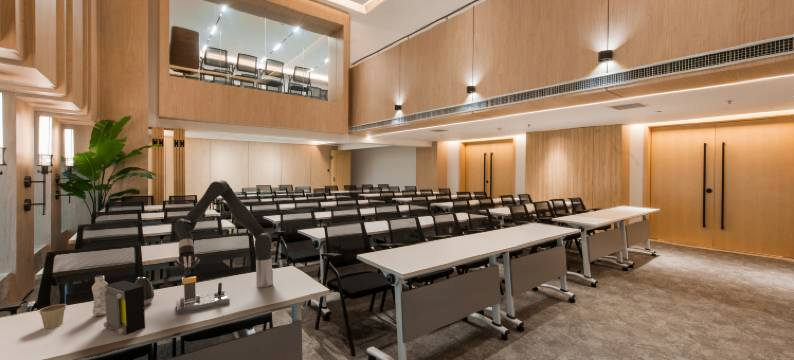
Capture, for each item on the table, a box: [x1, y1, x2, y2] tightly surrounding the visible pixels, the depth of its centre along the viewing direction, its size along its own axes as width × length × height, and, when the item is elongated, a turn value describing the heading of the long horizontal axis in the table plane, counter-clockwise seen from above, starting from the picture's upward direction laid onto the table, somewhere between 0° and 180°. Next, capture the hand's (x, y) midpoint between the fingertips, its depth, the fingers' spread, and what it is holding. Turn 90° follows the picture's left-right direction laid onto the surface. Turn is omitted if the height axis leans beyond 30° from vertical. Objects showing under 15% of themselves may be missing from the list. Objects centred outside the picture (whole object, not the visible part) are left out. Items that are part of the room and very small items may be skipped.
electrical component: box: [102, 280, 146, 336], centre depth 158 cm, size 18×10×20 cm, turn 62°
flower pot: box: [38, 303, 67, 329], centre depth 161 cm, size 9×9×9 cm
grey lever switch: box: [175, 282, 231, 316], centre depth 184 cm, size 24×14×12 cm, turn 125°
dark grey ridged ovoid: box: [134, 276, 155, 307], centre depth 185 cm, size 10×10×15 cm
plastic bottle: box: [91, 275, 109, 317], centre depth 172 cm, size 6×7×20 cm
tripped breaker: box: [182, 276, 197, 302], centre depth 180 cm, size 6×3×13 cm, turn 125°
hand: (188, 274), depth 187 cm, fingers closed
